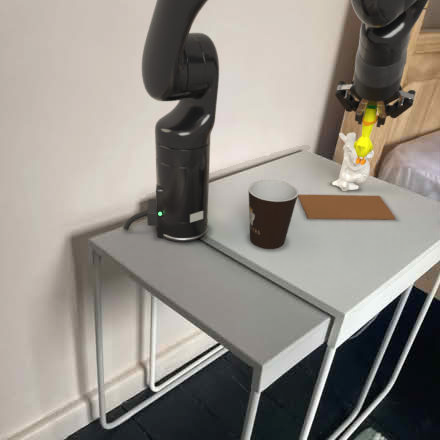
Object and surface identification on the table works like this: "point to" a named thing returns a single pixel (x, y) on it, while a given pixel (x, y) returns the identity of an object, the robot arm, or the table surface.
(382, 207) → the placemat
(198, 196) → the robot arm
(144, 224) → the table surface
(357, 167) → the white animal statuette
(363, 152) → the toy figure
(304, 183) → the table surface
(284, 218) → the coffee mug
